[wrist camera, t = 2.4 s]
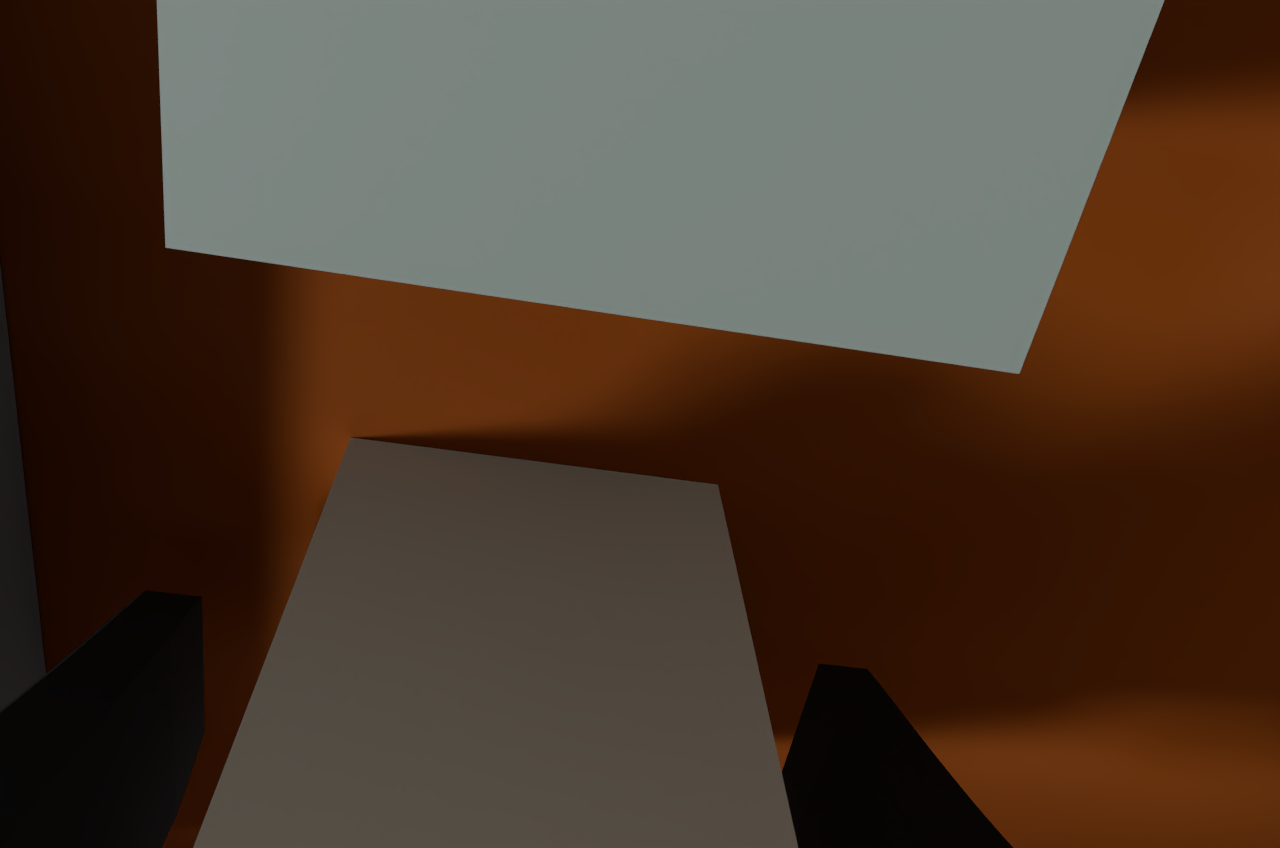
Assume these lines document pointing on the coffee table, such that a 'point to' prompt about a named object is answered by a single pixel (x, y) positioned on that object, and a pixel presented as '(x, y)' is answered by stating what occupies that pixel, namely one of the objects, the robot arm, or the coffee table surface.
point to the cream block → (507, 669)
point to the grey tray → (15, 548)
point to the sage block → (660, 154)
